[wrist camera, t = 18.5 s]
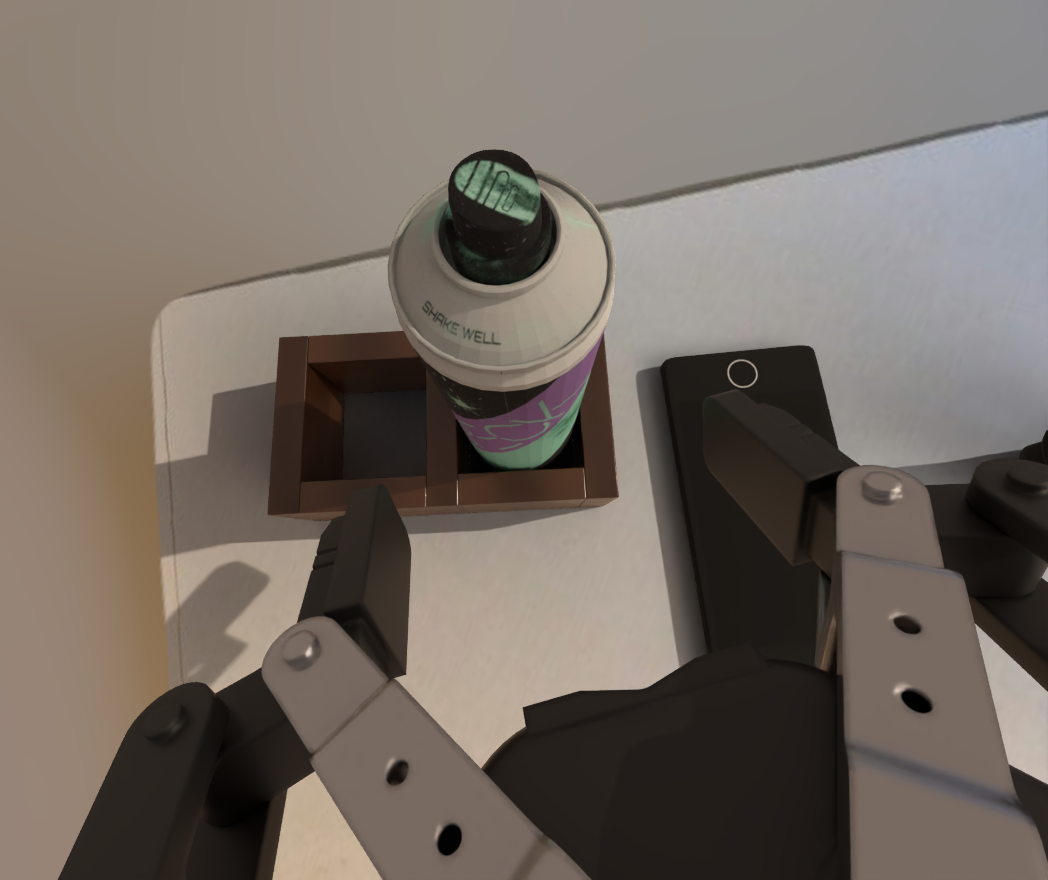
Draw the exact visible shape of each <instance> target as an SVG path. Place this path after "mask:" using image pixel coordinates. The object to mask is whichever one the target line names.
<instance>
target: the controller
mask: <svg viewBox="0 0 1048 880" xmlns="http://www.w3.org/2000/svg"><path fill="white" fill-rule="evenodd" d="M1019 459H1021V460H1028V461H1034V462H1038V463H1042V464H1045V465H1048V430H1047V431H1046V433H1045V435H1044V437H1043V439H1042V442H1039V443H1035V444H1032V445H1029V446H1027V447H1025V448H1024V449H1023V450H1022V451H1021V453H1020V456H1019Z"/></svg>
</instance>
